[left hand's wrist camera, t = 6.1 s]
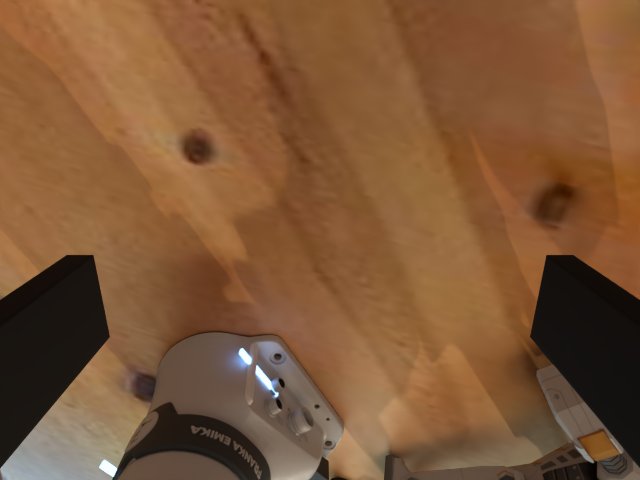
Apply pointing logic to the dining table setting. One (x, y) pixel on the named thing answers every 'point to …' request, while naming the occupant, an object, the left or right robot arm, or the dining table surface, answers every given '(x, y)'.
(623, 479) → the robot
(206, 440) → the right robot arm
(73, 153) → the dining table surface
